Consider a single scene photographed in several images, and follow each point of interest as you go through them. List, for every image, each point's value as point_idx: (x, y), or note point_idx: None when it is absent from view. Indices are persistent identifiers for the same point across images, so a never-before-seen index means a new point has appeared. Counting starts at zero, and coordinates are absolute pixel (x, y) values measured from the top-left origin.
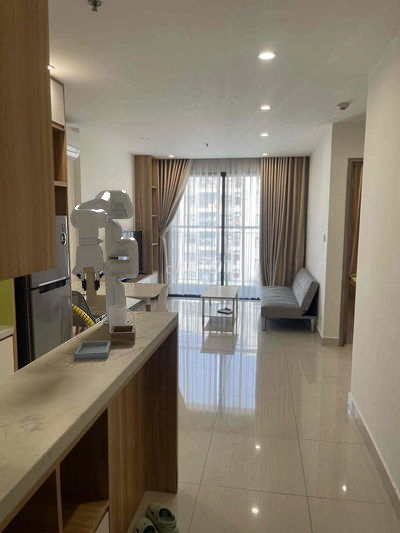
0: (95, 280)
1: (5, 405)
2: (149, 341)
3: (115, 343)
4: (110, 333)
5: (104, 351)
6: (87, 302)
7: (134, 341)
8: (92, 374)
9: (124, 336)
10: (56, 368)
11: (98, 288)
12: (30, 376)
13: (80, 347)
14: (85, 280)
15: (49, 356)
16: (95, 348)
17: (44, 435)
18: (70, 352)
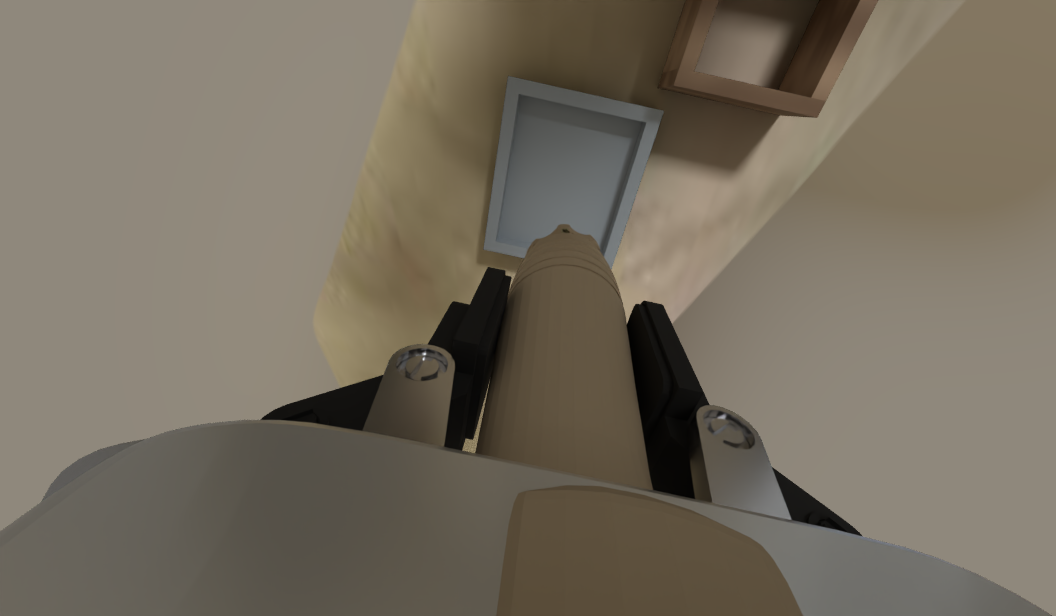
0: None
1: None
2: (873, 96)
3: (685, 93)
4: (677, 85)
5: (605, 213)
6: (526, 254)
7: (785, 115)
8: None
9: (748, 103)
10: (434, 290)
11: (661, 309)
12: (371, 321)
13: (506, 173)
14: (475, 400)
15: (385, 154)
16: (574, 155)
17: None
18: (465, 132)
